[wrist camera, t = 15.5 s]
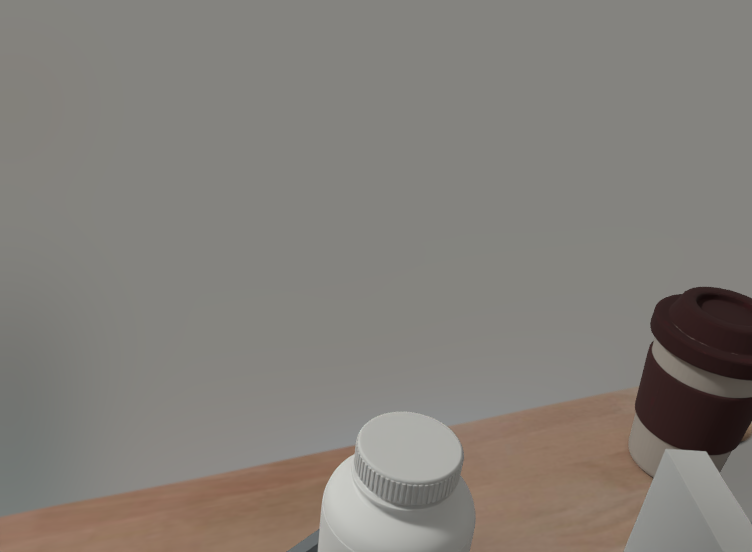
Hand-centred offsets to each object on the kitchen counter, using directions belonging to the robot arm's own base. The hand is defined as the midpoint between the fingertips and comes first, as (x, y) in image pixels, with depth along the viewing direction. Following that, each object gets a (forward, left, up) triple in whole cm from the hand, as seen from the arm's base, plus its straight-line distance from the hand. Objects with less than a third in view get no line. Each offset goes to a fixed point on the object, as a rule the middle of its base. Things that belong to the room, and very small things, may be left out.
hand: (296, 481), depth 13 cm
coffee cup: (-4, +47, -30) cm, 56 cm away
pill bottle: (-9, +16, -29) cm, 34 cm away
